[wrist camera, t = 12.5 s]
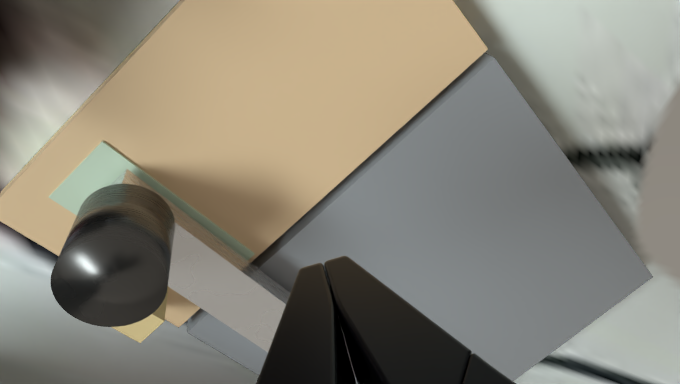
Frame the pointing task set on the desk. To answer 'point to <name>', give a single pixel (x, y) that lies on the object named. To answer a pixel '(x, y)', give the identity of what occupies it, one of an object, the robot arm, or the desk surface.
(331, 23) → the door board
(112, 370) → the desk surface
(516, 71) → the desk surface
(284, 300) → the door handle
